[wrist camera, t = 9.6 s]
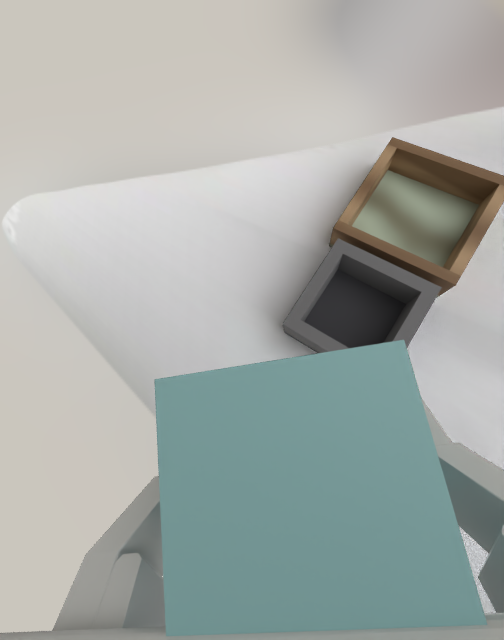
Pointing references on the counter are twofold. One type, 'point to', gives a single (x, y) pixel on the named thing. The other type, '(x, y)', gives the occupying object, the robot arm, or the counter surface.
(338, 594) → the teal block
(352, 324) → the box
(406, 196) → the walled bay
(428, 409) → the robot arm
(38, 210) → the counter surface
